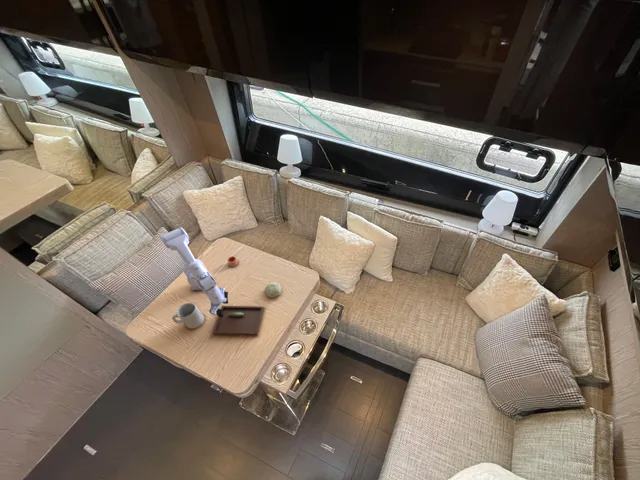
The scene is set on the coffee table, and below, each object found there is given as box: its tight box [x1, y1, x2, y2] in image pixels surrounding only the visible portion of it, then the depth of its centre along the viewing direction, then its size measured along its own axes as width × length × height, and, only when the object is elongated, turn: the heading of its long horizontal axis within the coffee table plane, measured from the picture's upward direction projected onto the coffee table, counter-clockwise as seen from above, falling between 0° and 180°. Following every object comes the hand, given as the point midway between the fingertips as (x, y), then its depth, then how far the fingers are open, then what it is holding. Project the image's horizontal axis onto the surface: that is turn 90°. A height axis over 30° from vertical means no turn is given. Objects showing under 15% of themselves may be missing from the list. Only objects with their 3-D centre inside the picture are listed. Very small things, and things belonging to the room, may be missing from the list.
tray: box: [211, 305, 265, 336], centre depth 141 cm, size 22×16×2 cm
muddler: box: [228, 313, 244, 317], centre depth 143 cm, size 2×2×8 cm
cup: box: [227, 255, 239, 268], centre depth 165 cm, size 5×5×4 cm
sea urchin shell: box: [264, 281, 283, 298], centre depth 153 cm, size 9×8×8 cm
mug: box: [171, 302, 205, 329], centre depth 137 cm, size 12×8×11 cm
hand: (223, 309), depth 139 cm, fingers open, 7 cm apart
